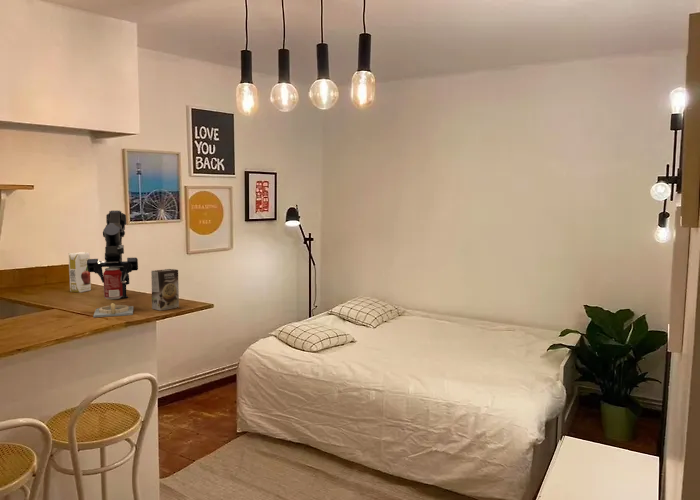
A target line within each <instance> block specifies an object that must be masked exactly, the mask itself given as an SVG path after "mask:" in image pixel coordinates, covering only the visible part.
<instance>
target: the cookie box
mask: <svg viewBox="0 0 700 500" xmlns="http://www.w3.org/2000/svg"><path fill="white" fill-rule="evenodd" d="M150 273H151V309H152V310H157V311H167V310H170V309H178V308H180V301H179V300H180V296H179V294H180V293H179V292H180V291H179V289H180V288H179V270H178V269H175V268H165V269H156V270H151V271H150ZM177 307H178V308H177Z"/></svg>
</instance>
